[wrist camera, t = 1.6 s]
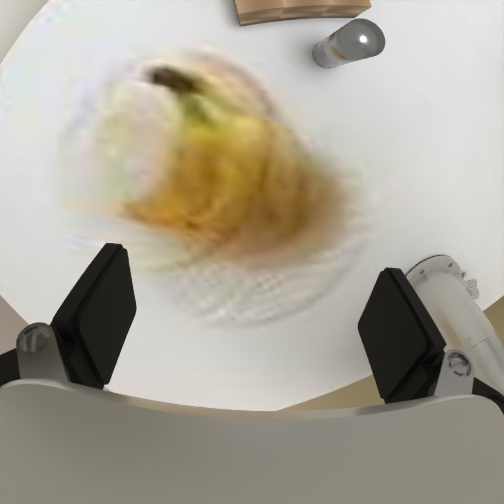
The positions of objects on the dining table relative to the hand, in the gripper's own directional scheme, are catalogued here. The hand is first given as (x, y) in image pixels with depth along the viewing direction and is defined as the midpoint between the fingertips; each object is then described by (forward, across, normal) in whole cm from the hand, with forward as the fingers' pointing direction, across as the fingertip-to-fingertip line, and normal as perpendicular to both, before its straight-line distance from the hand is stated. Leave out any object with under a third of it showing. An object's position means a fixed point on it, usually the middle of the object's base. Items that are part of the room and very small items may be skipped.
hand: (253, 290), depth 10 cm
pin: (+22, -6, -12) cm, 26 cm away
